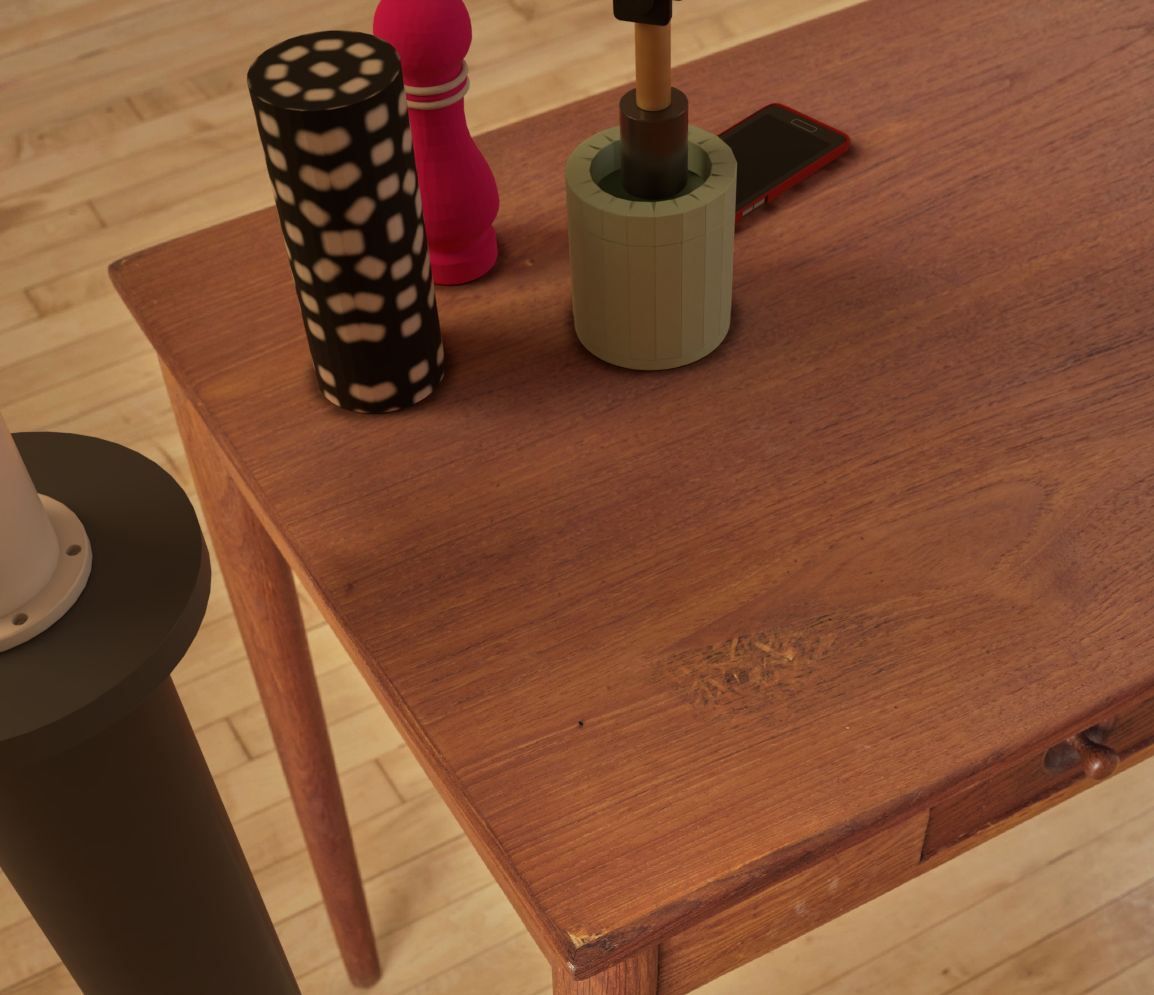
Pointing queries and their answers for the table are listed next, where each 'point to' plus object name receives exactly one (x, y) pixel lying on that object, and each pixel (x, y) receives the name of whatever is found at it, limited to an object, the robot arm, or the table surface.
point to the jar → (651, 255)
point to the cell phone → (778, 153)
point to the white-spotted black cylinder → (351, 215)
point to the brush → (653, 121)
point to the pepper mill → (443, 134)
